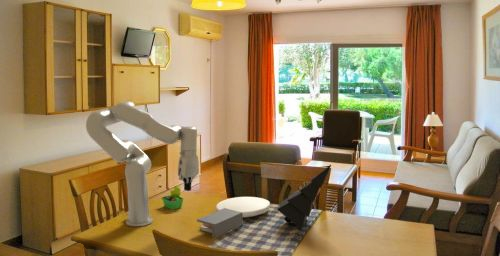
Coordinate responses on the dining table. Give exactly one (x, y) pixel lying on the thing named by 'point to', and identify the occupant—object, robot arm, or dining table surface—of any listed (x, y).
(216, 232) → the grey block with tab
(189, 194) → the dining table surface
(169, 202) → the fruit basket
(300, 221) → the decorative tree
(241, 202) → the plate
